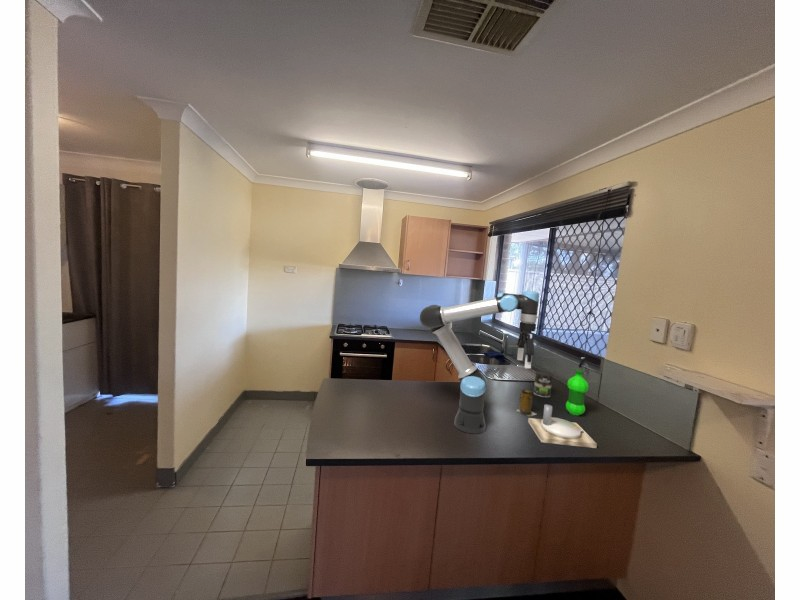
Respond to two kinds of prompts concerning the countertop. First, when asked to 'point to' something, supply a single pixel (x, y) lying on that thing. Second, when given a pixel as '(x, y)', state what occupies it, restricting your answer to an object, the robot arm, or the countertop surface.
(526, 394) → the condiment
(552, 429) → the dial
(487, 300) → the robot arm
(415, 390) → the countertop surface
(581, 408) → the plastic bottle
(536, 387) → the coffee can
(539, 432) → the dial panel
